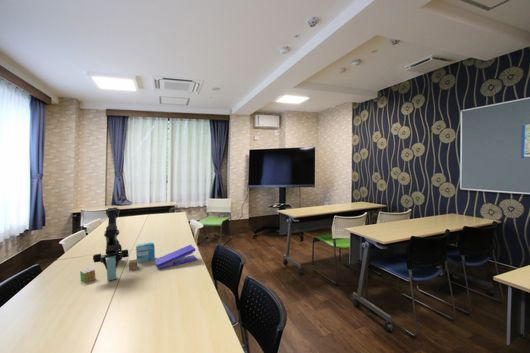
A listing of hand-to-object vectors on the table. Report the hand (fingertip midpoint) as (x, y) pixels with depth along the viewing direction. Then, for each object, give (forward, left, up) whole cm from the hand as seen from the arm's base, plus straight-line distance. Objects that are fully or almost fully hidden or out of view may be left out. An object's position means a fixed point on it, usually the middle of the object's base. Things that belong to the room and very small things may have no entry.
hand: (111, 268), depth 149 cm
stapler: (+17, +37, -8) cm, 41 cm away
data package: (-8, +31, -8) cm, 33 cm away
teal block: (-1, +1, -7) cm, 7 cm away
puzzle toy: (-15, -5, -8) cm, 18 cm away
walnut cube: (-4, +18, -7) cm, 19 cm away
